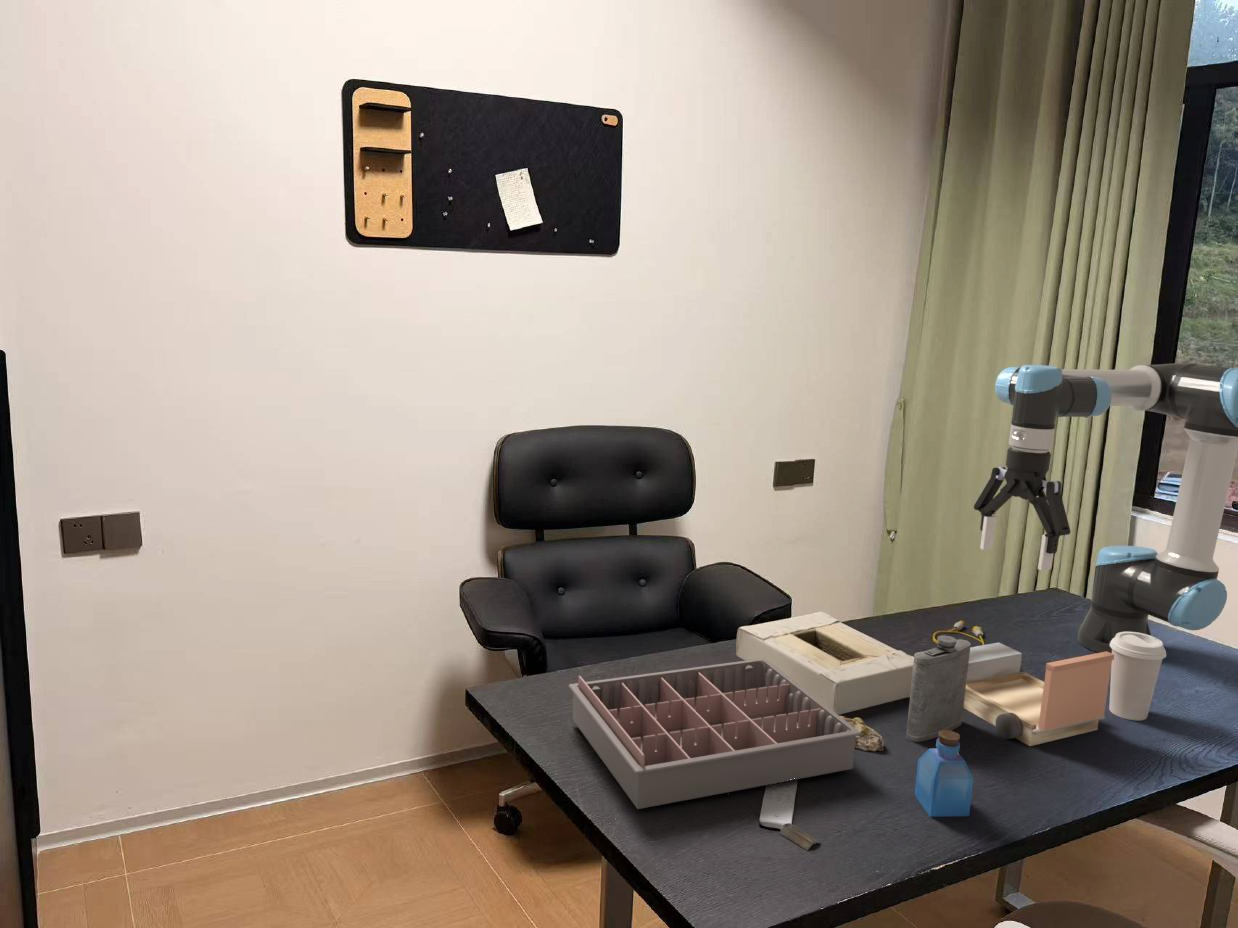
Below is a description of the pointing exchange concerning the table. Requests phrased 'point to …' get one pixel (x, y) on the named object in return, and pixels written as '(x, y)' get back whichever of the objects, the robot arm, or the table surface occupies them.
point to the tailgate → (1074, 691)
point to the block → (798, 836)
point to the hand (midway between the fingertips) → (1014, 558)
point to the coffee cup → (1134, 673)
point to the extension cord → (959, 626)
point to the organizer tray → (709, 730)
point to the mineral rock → (866, 736)
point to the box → (830, 660)
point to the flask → (938, 689)
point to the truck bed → (1009, 695)
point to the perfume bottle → (944, 778)
